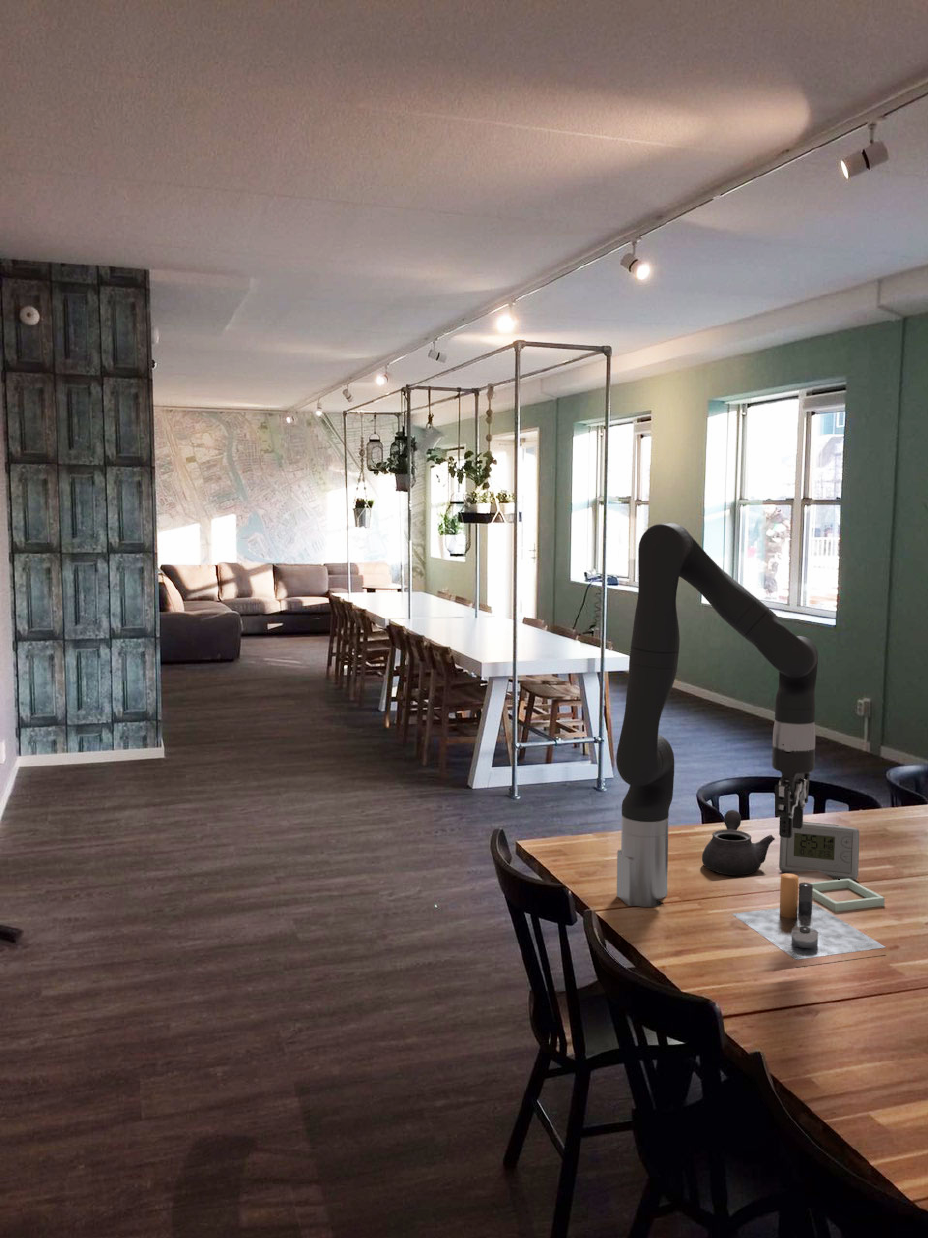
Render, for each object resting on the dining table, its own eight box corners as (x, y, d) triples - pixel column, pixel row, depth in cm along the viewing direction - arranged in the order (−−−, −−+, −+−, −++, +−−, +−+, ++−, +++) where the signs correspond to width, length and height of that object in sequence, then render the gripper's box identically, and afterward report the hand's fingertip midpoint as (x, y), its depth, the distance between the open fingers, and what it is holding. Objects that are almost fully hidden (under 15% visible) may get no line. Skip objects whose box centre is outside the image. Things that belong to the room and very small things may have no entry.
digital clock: (775, 873, 222) (776, 825, 221) (786, 861, 230) (787, 814, 229) (854, 887, 214) (855, 837, 213) (862, 874, 222) (864, 826, 220)
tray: (834, 919, 197) (835, 903, 197) (801, 898, 208) (801, 884, 207) (884, 912, 200) (884, 897, 200) (848, 892, 210) (848, 878, 210)
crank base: (795, 968, 176) (796, 959, 176) (731, 921, 196) (731, 913, 196) (885, 955, 181) (886, 947, 181) (814, 911, 201) (814, 903, 201)
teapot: (780, 880, 218) (782, 834, 217) (706, 878, 219) (707, 832, 218) (761, 851, 237) (763, 808, 236) (693, 849, 238) (694, 807, 237)
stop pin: (786, 919, 193) (787, 880, 192) (776, 912, 196) (777, 874, 196) (800, 917, 194) (802, 878, 193) (791, 910, 197) (792, 872, 196)
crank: (817, 949, 179) (819, 910, 178) (791, 946, 180) (792, 907, 180) (817, 914, 195) (818, 878, 194) (792, 911, 196) (793, 876, 195)
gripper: (785, 735, 200) (782, 819, 202) (761, 749, 188) (758, 839, 190) (825, 739, 196) (822, 826, 197) (802, 754, 184) (800, 846, 186)
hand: (791, 832), depth 194 cm, fingers open, 6 cm apart
